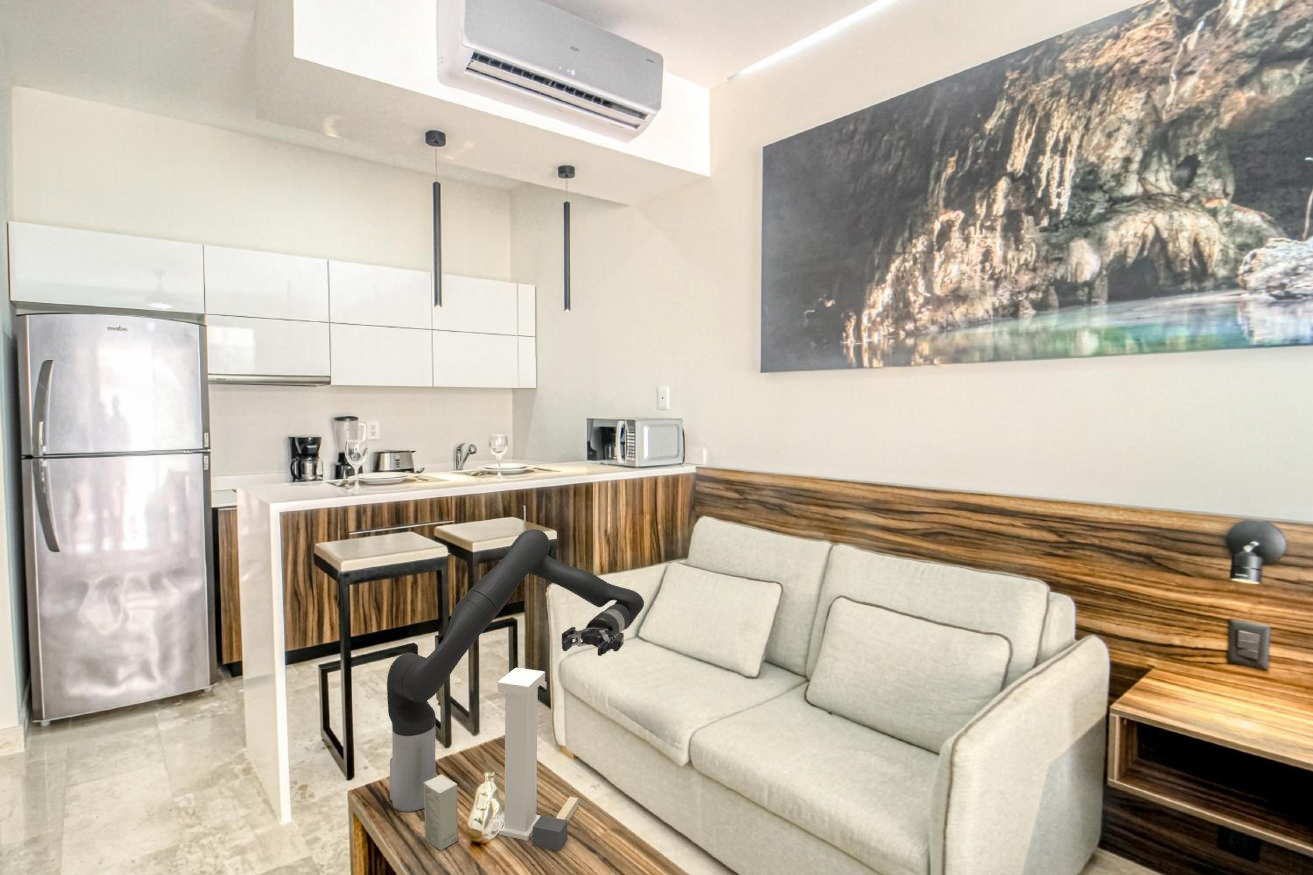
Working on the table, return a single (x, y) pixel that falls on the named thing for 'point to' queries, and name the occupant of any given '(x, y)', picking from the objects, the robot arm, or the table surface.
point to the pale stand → (520, 751)
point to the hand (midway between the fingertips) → (581, 649)
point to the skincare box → (441, 811)
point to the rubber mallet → (554, 827)
